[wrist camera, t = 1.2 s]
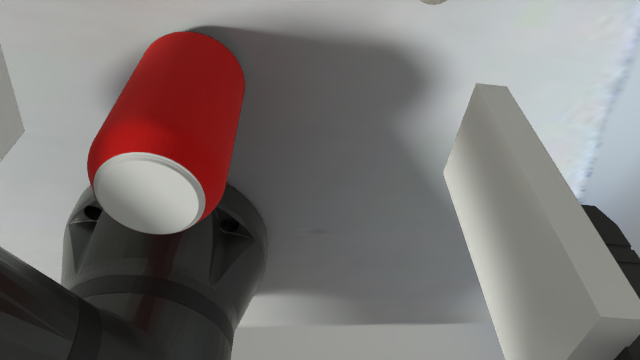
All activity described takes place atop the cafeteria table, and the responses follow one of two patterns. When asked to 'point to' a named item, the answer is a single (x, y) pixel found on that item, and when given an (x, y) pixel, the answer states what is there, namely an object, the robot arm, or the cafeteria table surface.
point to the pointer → (433, 1)
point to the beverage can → (169, 136)
